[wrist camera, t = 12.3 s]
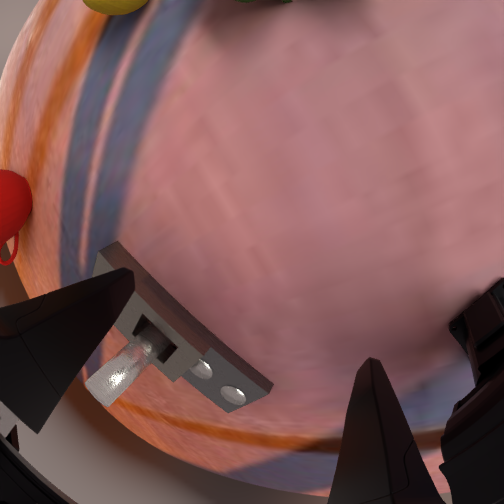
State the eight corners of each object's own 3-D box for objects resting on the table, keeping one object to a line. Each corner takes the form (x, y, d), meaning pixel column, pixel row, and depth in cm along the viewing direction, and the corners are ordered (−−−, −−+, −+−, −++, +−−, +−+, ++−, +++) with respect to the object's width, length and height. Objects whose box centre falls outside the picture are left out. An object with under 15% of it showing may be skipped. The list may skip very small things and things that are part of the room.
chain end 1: (217, 338, 29) (202, 357, 26) (186, 367, 34) (172, 383, 31) (117, 240, 30) (96, 251, 27) (103, 285, 35) (86, 296, 32)
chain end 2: (273, 384, 29) (268, 395, 27) (232, 405, 34) (227, 414, 32) (149, 274, 30) (139, 281, 28) (130, 314, 34) (121, 321, 33)
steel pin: (183, 328, 31) (110, 403, 20) (174, 340, 33) (107, 409, 22) (163, 309, 31) (85, 377, 20) (155, 322, 33) (84, 386, 22)
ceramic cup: (25, 244, 44) (-12, 263, 36) (11, 162, 37) (-31, 177, 29) (51, 254, 39) (6, 280, 31) (33, 156, 32) (-20, 173, 24)
